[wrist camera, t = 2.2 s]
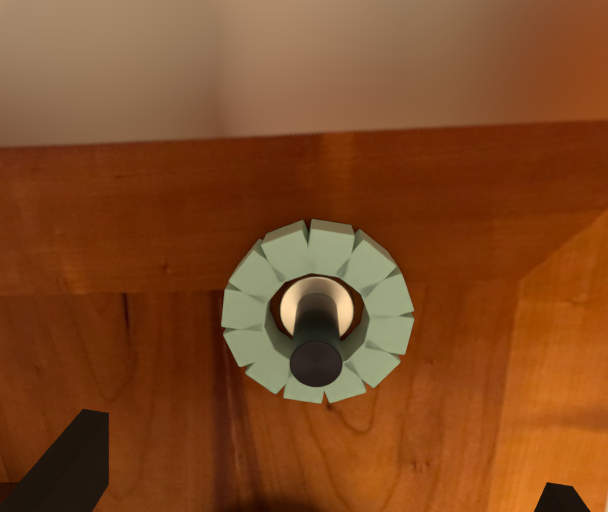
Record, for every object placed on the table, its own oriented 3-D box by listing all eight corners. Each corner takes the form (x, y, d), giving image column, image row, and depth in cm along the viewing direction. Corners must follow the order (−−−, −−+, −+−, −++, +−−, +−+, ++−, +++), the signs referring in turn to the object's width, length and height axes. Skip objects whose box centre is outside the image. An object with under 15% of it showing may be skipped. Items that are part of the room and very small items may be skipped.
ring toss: (266, 308, 24) (247, 370, 18) (311, 255, 23) (308, 302, 17) (321, 349, 25) (322, 422, 19) (368, 300, 24) (385, 360, 17)
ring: (198, 314, 24) (185, 333, 22) (303, 182, 22) (301, 188, 19) (327, 405, 26) (328, 432, 24) (440, 294, 23) (453, 311, 21)
